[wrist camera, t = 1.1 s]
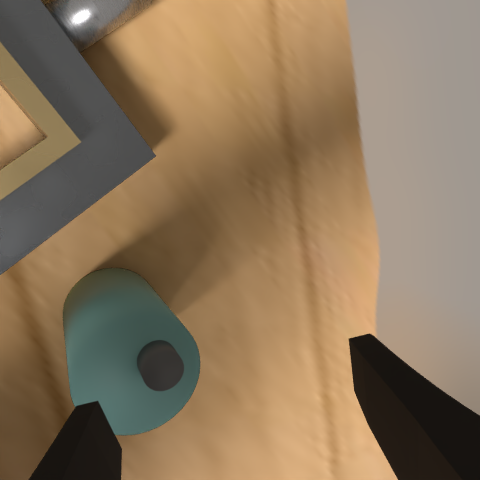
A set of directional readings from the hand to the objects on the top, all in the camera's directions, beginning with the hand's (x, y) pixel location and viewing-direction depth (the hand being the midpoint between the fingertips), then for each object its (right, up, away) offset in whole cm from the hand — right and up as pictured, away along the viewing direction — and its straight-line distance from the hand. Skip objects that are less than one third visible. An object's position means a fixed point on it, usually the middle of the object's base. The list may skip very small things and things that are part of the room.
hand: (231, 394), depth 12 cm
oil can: (-6, +1, +9) cm, 11 cm away
